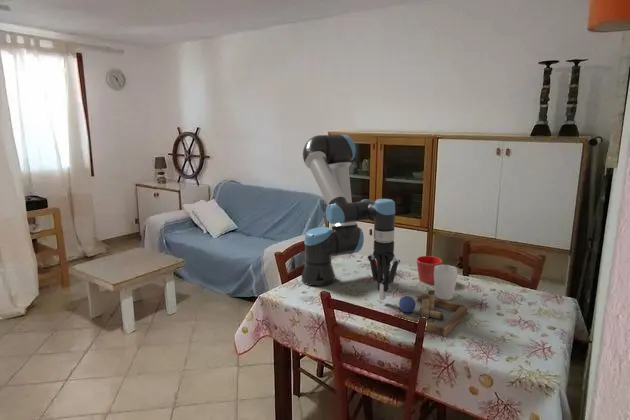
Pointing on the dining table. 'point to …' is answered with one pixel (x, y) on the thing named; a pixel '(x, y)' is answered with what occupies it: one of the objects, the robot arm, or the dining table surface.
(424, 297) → the pin
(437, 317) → the pin front
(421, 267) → the flower pot
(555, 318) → the dining table surface
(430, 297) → the pin
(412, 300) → the ball
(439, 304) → the tray
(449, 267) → the cup
